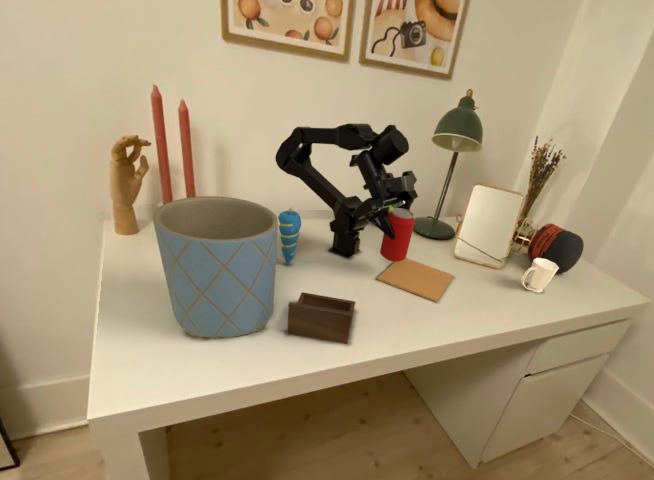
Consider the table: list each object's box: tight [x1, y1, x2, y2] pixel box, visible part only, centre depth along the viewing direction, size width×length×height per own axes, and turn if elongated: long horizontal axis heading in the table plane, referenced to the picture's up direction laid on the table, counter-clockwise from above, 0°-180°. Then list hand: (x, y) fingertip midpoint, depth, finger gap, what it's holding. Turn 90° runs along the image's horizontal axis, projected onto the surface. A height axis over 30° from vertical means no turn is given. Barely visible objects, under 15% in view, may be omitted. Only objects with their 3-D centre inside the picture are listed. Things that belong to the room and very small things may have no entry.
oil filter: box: [527, 222, 585, 275], centre depth 118 cm, size 13×12×13 cm
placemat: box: [377, 257, 454, 303], centre depth 100 cm, size 16×16×1 cm
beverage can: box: [379, 208, 416, 263], centre depth 92 cm, size 7×7×12 cm
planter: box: [152, 195, 279, 339], centre depth 68 cm, size 19×19×20 cm
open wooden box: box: [287, 291, 356, 345], centre depth 75 cm, size 12×12×7 cm
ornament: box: [277, 206, 302, 266], centre depth 89 cm, size 5×5×15 cm
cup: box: [520, 258, 559, 293], centre depth 104 cm, size 7×10×8 cm
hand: (402, 235), depth 92 cm, fingers closed on beverage can, 7 cm apart
